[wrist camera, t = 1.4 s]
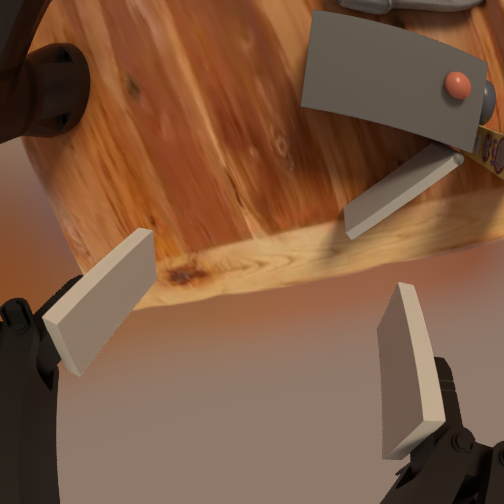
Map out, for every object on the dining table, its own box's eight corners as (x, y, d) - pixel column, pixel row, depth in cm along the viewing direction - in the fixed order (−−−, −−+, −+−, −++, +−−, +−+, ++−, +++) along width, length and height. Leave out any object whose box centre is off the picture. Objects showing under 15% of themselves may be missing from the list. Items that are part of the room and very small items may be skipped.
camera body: (306, 104, 30) (299, 108, 23) (316, 27, 26) (312, 6, 18) (457, 145, 28) (491, 163, 20) (470, 72, 23) (508, 71, 15)
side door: (436, 138, 28) (460, 150, 22) (445, 152, 28) (469, 167, 22) (342, 206, 34) (344, 232, 29) (352, 218, 35) (356, 246, 29)
